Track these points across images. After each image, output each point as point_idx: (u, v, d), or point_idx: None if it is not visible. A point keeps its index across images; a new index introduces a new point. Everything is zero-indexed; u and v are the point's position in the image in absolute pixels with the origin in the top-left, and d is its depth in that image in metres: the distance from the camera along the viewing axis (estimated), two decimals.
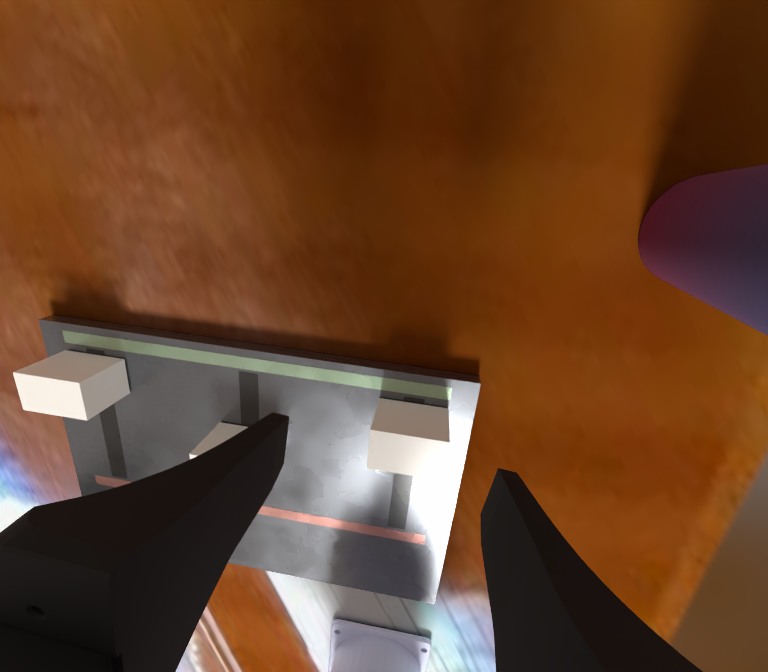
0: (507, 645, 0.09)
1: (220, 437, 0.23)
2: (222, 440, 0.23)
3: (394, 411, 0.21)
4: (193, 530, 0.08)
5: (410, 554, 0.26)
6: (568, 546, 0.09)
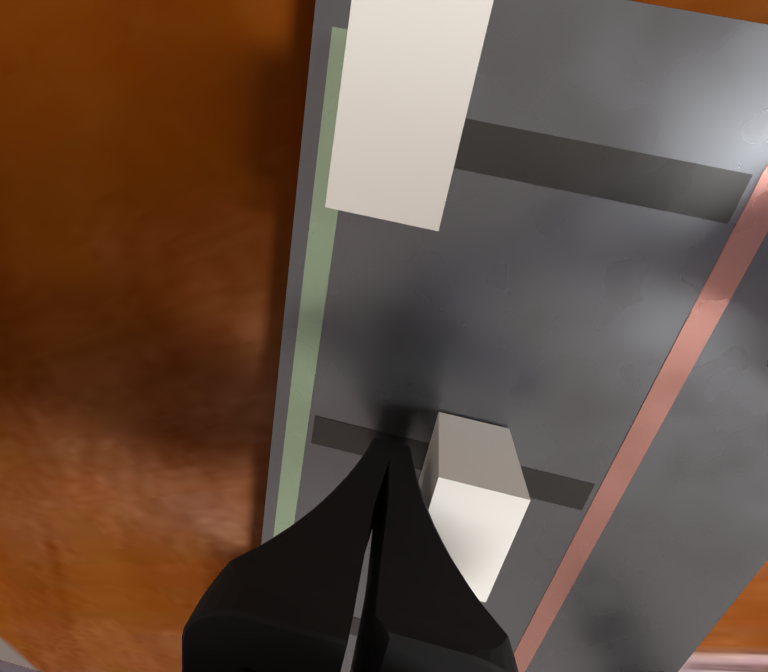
0: (364, 606, 0.09)
1: None
2: None
3: None
4: None
5: None
6: (423, 509, 0.09)
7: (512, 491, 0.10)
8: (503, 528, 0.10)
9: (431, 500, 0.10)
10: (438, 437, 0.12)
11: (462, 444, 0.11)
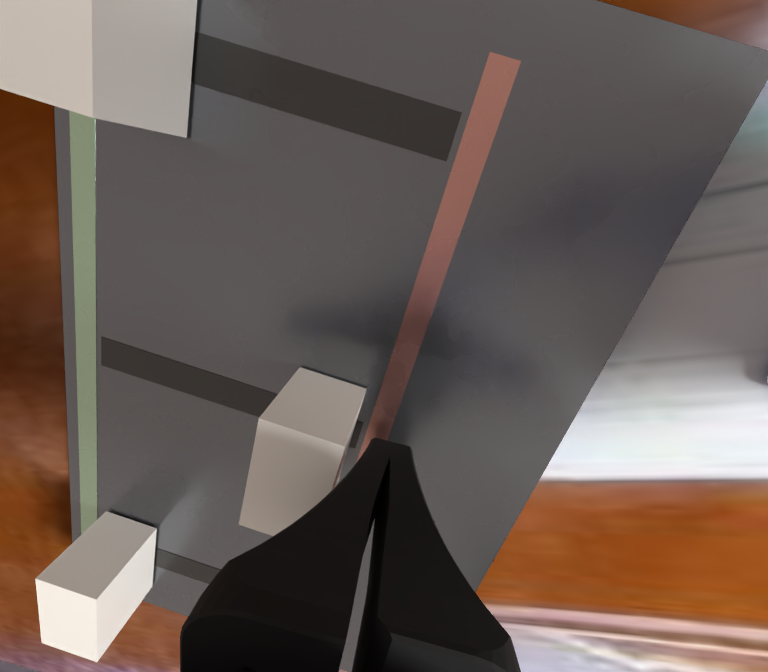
0: (365, 606, 0.09)
1: None
2: None
3: None
4: None
5: (550, 110, 0.10)
6: (424, 509, 0.09)
7: (330, 437, 0.10)
8: (322, 474, 0.10)
9: (254, 442, 0.10)
10: (284, 387, 0.12)
11: (305, 395, 0.12)
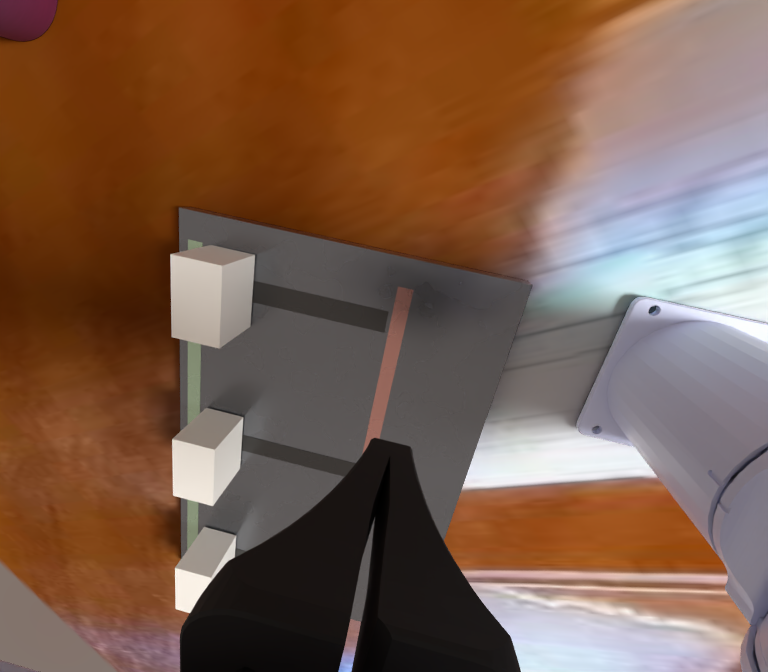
0: (365, 606, 0.09)
1: None
2: None
3: None
4: None
5: (431, 309, 0.19)
6: (424, 509, 0.09)
7: (208, 446, 0.21)
8: (207, 464, 0.21)
9: (172, 450, 0.21)
10: (192, 421, 0.22)
11: (202, 424, 0.22)
